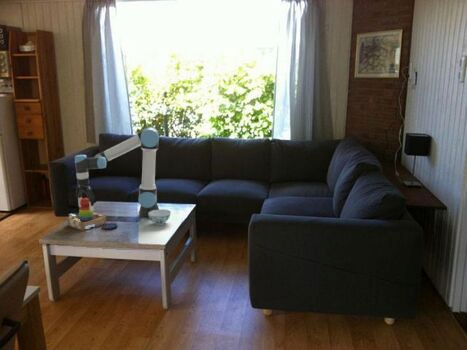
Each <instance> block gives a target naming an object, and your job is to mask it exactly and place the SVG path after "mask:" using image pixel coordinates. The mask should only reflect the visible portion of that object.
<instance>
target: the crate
mask: <svg viewBox="0 0 467 350" xmlns="http://www.w3.org/2000/svg"><path fill="white" fill-rule="evenodd" d="M93 214H94V215H93V219H95V220H91V221H88V222H78V221H76V220H73V219H74V217H76V218H78V219H80V218H79V214H78V215H75V216H72V217H69V216H68V217H67V226H69V227H71V228H74V229H76V230H79V231H82V232H85V231H86V230H85V227H86V226H88V225H92V224H95V226H96V227H95V228H97V227H100V225H101V226H103V224H104V225H106V224H105V223H107V216H106V215H102V214H100V213H96V212H93Z"/></svg>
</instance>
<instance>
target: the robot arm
mask: <svg viewBox="0 0 467 350" xmlns="http://www.w3.org/2000/svg"><path fill="white" fill-rule="evenodd" d="M159 142H160V132H159V130H158V129H157V128H155V127H154V126H147V127H145V128H144V129H142V130H140V131H139V132H137V133H136V135H134V136H132V137H130V138H128V139H126V140H124V141H122V142H120V143H118V144H116V145H114V146H112V147H110V148H108V149H106V150H104V151H101V152H99V153H97V154H95V155H94V156H93V157H87V155H86V154H78V155H75V156H74V164H75V165H74V166H75V173H76V174H75V175H76V179H77V180H76V181H77V184H76V189H75V197H77V201H78V208H81V205H80V201H81V200H82V199H83V193H84V194H85V195H86V197H87V198H88V199H89V207H90V211H92V210H93V211H95V207H94V206H95V204H94V201H96V198H95V195H94V192H93V190H92V186H91V185H90V186H89V184H90V178H89V170H95V169H96V170H97V169H106V168H107V163H108V162H110V161H112V160H113V159H116V158H118V157H120V156H122V155H124V154H126V153H128V152H130V151H132V150H134V149H136V148H139V147H140V149H141V150H142V165H141V166H142V167H141V168H142V169H141V171H142V172H141V184H140V185H139V189H138V199H137V200H138V203H139V205H140V206H139V210H138V215H139V216H138V217H141V218H144V219H145V218H146V219H147V218H149V215H148V213H149V212H150V211H153V210H159V209H160V208H159V205H158V197H157V186H156V185H157V184H156V183H155V180H156V178H155V177H156V156H157V150H159ZM149 219H150V218H149Z"/></svg>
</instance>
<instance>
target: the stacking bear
mask: <svg viewBox="0 0 467 350" xmlns="http://www.w3.org/2000/svg"><path fill="white" fill-rule="evenodd" d="M80 205H81V207H79V211H78V215H79V218H80V221H81V222H88V221H91V220H95V219H93V215H94V214H93V213H94V210H92V211H90V207H89V199H88V197H87V196H85V197H84V198H82V200H81V201H80Z"/></svg>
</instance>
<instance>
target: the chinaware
mask: <svg viewBox="0 0 467 350" xmlns="http://www.w3.org/2000/svg"><path fill="white" fill-rule="evenodd" d="M148 215H149V219H150V221H151V222H152V223H154V225H156V226H161V225H165V224H166V222H167V221H168V220H169V219H170V217H171V210H169V209H164V208H163V209H160V208H159V210H153V211H150V212H149V213H148Z"/></svg>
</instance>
